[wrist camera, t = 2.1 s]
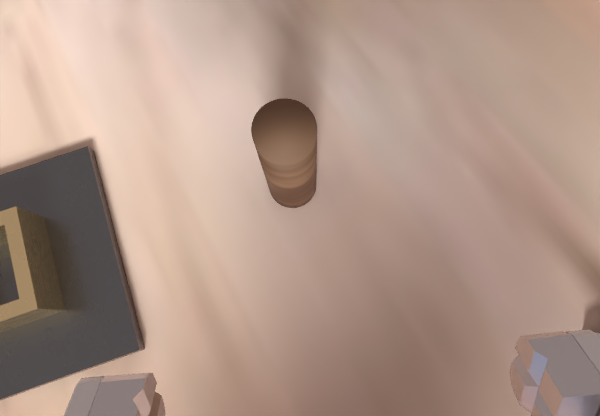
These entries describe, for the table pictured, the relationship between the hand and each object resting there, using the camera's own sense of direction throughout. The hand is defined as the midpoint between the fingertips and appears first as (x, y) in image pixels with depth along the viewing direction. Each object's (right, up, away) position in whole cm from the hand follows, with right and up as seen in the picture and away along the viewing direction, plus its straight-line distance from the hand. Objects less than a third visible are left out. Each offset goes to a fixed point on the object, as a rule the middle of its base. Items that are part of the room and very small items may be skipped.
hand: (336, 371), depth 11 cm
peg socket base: (-22, -2, +25) cm, 34 cm away
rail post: (-1, +5, +26) cm, 27 cm away
